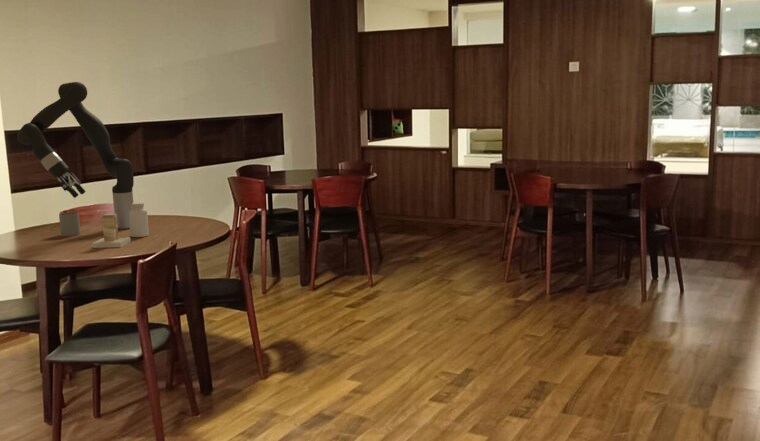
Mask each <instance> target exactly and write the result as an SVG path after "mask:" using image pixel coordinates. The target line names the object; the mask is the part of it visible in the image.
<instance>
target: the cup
mask: <svg viewBox="0 0 760 441" xmlns="http://www.w3.org/2000/svg"><path fill="white" fill-rule="evenodd" d="M58 220H59V226H60V227H59V229H60V236H61V237H76V236H80V235H81V225H80V224H81V223H80V214H79V212H76V211H72V212H71V211H70V212H69V211H68V212H61V213H59V214H58Z"/></svg>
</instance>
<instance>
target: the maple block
mask: <svg viewBox="0 0 760 441" xmlns="http://www.w3.org/2000/svg"><path fill="white" fill-rule="evenodd" d="M101 217H102V230H103V232H102V233H103V238H104V241H116V240H118V239H119V238H118V237H119V229H118V226H117V215H116V214H114V213H104V214H102V215H101Z"/></svg>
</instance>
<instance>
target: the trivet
mask: <svg viewBox="0 0 760 441" xmlns="http://www.w3.org/2000/svg"><path fill="white" fill-rule="evenodd" d="M118 238H119V239H118V240H116V241H104V237H101V238H100V239H97V240H96V241H94V242H92V243H91V244H92V249H93V248H94V249H102V248H122V247H124V246H125V245H126V246H127V244H129V243H131V242H132V241H131V240H132V239H131V236H128V237H127V236H122V237H119V236H118Z"/></svg>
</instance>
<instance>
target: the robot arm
mask: <svg viewBox="0 0 760 441" xmlns="http://www.w3.org/2000/svg"><path fill="white" fill-rule="evenodd" d="M57 92H58V96H59V99H57V100H56V101H54V102H52V103H50V104H49V105H47V106H45V107H44V108H43V109H41V110H40V111H39V112H38V113H37V114H36V115H34V116H33V118H32V119H31V120H30V122H27V123H25V124H23V125H22V127H21V128H20V129H19V130H18V132H17V134H16V135H17V136H16V138H17V141H18V142H19V143H20V144H22V145H25V146H29V145H31V146H32V153H33V154H34V156H35V157H36V158H37V160H39V162H40V163H41V165H42V166H43V168H45V170H46V171H47V172H48V173H49V175H51V177H52V178H53V179H54V180H55V181H56V182H57V183H58V185H59V186H60V188H62V190H63V191H64V192H69V193H70V195H71V196H72V197H73V198H74V199H76V198H77V197H78V196H79V195H84V194H85V193H86V190H85V188H84V187H82V185H81V184H82V181H81V180H80V179H79V178H78V177H77V176H76V175H75V174H74V172H72V171H71V172H68V171H69V169H70V167H69V166H68V165H67V164H66V162H65V161H64V160H63V159H62V158H61V156H60V155H59V154H58V153H56V151H55V150H54V149H53V148H52V147H51V145H49V143H48V142H47V140H46V138H45V136H44V134H43V132H45V131H47V129H49V128H50V127H51V126H52V125H53V124H54V123H55V122H56V121H57V120H59V118H61V117H62V116H63V115H65V113H67V112H68V111H69V112H70V113H71V114H72V116H73V117H74V119H75V120H76V122H77V123H78V125H79V126H80V128H81V129H82V131H83V132H84V134H85V136H86V138H87V139H88V141H89V143H90V144H91V145H92V146H93V148H94V150H95V151H96V153H97V155H98V156H99V157H100V160H101V162H102V164H103V165H104V168H105V171H106V172H107V173H108V174H109V176H111V177H112V178H115V179H116V184H115V185H113V186H112V187H111V191H112V202H113V203H112V204H113V211H114V212H113V214H116V215H117V226H118V230H119V229H122V230H123V229H130V222H129V211H130V210H131V209H132V206H131V204H132V203H134V192H133V188H134V183H135V182H134V167H133V163H132V162H131V161H130V160H129V159H126V158H118V157H117V155H116V154H115V152H114V150H113V147H112V145H111V137H110V133H109V132H108V130H107V128H106V126H105V125H104V123H103V122H102V120H100V118H98V116H96V115H95V114H93V113H92V112H91V111H89V110H88V109H87V108H86V107H85V106H84V104H83V103H82V102H83V101H85V100H86V99H87V97H88V89H87V87H86V85H85V84H84V83H82V82H80V81H71V82H67V83H65V82H64V83H62V84H61V85H59V87H58V90H57ZM75 189H76V190H77V191H78V192H79V193H78V192H77V191H76V190H75Z"/></svg>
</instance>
